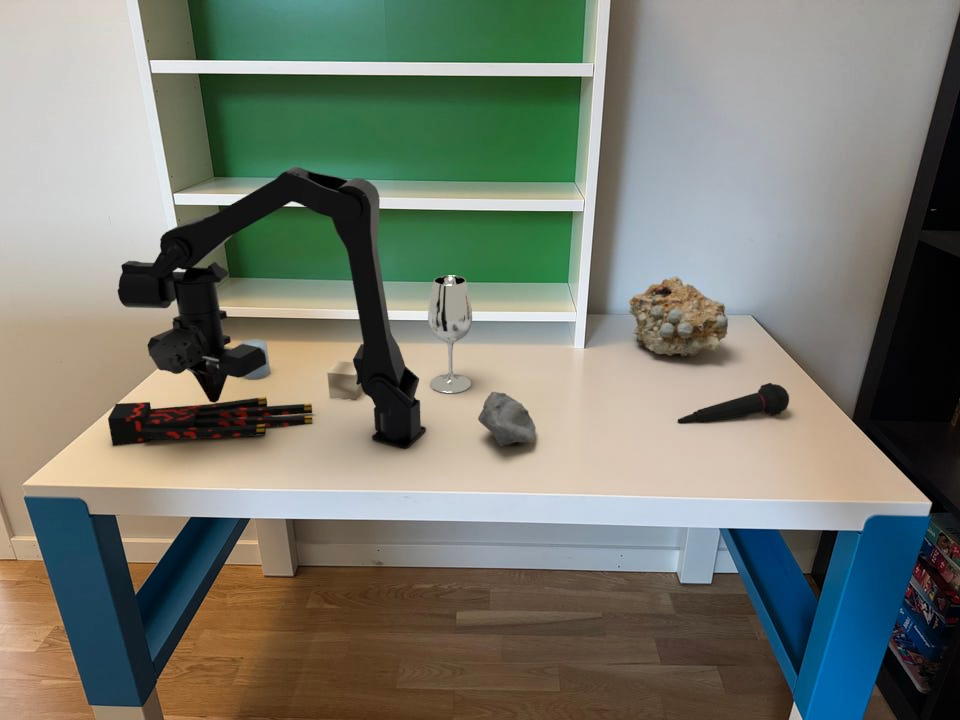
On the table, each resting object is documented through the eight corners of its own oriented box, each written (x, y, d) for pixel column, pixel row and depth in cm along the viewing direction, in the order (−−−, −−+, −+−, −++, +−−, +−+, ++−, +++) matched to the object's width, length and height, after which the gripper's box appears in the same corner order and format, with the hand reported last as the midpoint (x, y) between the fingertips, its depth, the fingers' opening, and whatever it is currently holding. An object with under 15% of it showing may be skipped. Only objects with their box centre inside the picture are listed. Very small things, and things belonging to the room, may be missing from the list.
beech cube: (365, 388, 125) (364, 363, 123) (356, 400, 121) (355, 375, 119) (339, 385, 126) (337, 361, 124) (329, 398, 122) (327, 372, 119)
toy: (312, 417, 119) (121, 427, 112) (311, 391, 117) (117, 400, 110) (313, 442, 111) (109, 454, 104) (312, 414, 109) (104, 425, 102)
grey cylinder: (275, 371, 131) (272, 342, 129) (257, 381, 127) (253, 351, 125) (255, 366, 133) (252, 337, 131) (236, 376, 129) (232, 346, 127)
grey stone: (535, 461, 103) (537, 414, 100) (475, 458, 104) (475, 411, 101) (534, 424, 114) (537, 381, 110) (480, 422, 114) (480, 378, 111)
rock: (622, 336, 152) (623, 270, 147) (710, 332, 151) (715, 265, 145) (636, 370, 135) (638, 297, 129) (736, 366, 134) (742, 292, 128)
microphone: (683, 444, 115) (790, 418, 118) (689, 421, 111) (800, 395, 114) (668, 420, 118) (772, 396, 122) (673, 397, 114) (781, 373, 118)
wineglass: (478, 380, 129) (480, 277, 120) (460, 397, 122) (460, 289, 114) (441, 372, 132) (440, 271, 123) (421, 388, 125) (418, 283, 117)
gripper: (107, 315, 99) (129, 411, 106) (205, 337, 92) (222, 438, 99) (169, 293, 109) (185, 382, 115) (262, 311, 101) (274, 405, 108)
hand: (214, 401), depth 109 cm, fingers closed
